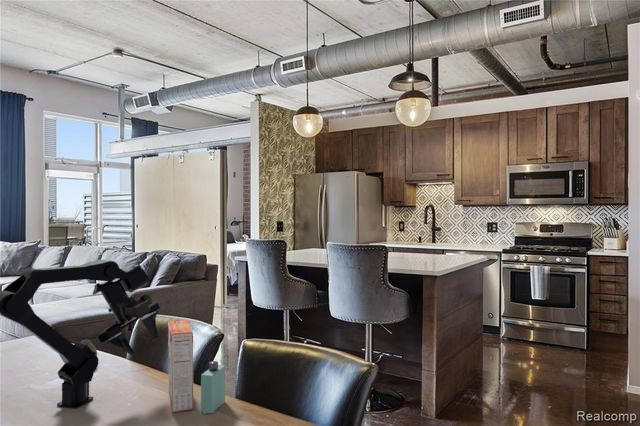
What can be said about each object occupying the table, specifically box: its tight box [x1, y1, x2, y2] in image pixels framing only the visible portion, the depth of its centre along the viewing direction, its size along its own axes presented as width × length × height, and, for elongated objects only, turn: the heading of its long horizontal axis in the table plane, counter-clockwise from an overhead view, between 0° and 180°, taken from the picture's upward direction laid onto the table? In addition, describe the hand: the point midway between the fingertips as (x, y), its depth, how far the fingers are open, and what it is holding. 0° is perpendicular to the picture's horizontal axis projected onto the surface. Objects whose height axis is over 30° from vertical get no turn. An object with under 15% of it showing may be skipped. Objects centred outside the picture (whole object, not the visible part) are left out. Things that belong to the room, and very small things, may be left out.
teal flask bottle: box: [200, 360, 226, 414], centre depth 126 cm, size 8×3×12 cm, turn 166°
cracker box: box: [167, 319, 194, 413], centre depth 129 cm, size 14×6×21 cm, turn 21°
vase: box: [80, 339, 98, 357], centre depth 157 cm, size 7×7×9 cm
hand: (145, 346), depth 137 cm, fingers open, 9 cm apart
